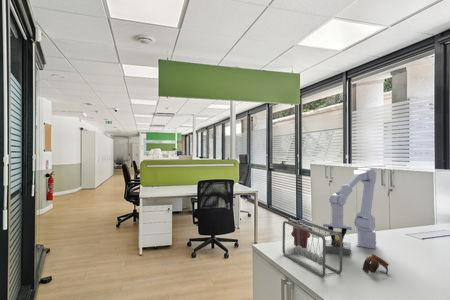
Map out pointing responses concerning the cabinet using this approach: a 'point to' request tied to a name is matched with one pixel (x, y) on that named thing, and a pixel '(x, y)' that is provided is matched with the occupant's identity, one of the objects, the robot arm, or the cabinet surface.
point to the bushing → (336, 239)
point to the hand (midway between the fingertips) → (337, 241)
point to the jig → (338, 248)
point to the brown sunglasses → (374, 264)
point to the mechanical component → (300, 236)
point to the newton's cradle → (310, 254)
